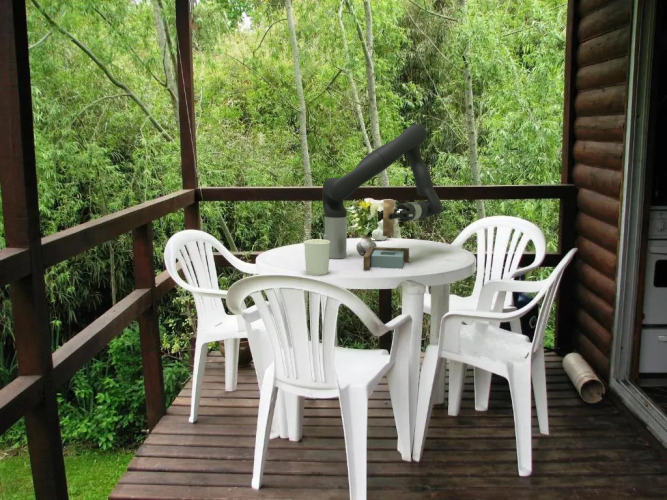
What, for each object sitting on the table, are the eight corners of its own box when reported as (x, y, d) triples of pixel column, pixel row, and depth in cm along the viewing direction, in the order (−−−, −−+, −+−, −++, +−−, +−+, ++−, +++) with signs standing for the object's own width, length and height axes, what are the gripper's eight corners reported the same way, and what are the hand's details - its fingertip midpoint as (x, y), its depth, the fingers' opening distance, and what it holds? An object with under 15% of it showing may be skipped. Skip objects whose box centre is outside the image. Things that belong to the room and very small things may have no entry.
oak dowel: (382, 236, 258) (382, 200, 255) (383, 234, 262) (383, 199, 259) (393, 236, 257) (393, 201, 255) (393, 234, 261) (394, 199, 259)
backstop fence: (363, 270, 252) (363, 256, 251) (369, 259, 271) (369, 246, 270) (406, 272, 249) (406, 257, 248) (408, 261, 269) (409, 248, 268)
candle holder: (302, 270, 251) (301, 239, 249) (327, 269, 253) (327, 238, 251) (306, 276, 242) (306, 244, 239) (332, 275, 244) (333, 243, 242)
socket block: (371, 268, 257) (371, 255, 256) (374, 262, 269) (374, 250, 268) (402, 269, 255) (402, 256, 254) (403, 263, 267) (403, 251, 266)
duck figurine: (373, 246, 314) (385, 229, 308) (363, 235, 317) (375, 218, 311) (387, 243, 323) (399, 226, 317) (377, 232, 326) (389, 215, 320)
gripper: (394, 201, 273) (369, 205, 260) (423, 204, 264) (399, 208, 251) (393, 219, 274) (369, 224, 261) (423, 222, 265) (399, 227, 252)
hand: (384, 216), depth 256 cm, fingers closed on oak dowel, 4 cm apart
